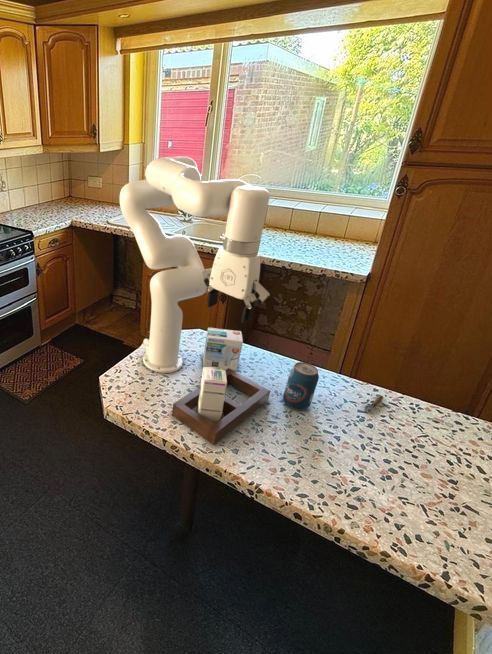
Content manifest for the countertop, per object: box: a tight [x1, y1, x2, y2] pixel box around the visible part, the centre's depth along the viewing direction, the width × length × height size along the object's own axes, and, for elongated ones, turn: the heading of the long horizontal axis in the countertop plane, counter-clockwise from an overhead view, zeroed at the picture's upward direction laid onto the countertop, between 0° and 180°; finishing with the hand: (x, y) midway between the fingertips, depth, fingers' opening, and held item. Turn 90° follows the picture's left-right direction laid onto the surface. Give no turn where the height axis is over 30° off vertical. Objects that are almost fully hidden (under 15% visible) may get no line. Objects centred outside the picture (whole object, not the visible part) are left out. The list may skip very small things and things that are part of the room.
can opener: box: [364, 395, 384, 412], centre depth 110 cm, size 9×2×1 cm, turn 123°
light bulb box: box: [202, 327, 244, 372], centre depth 126 cm, size 11×7×11 cm, turn 76°
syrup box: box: [196, 366, 228, 425], centre depth 103 cm, size 6×6×14 cm
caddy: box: [171, 368, 271, 446], centre depth 108 cm, size 14×25×4 cm, turn 129°
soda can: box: [282, 361, 320, 411], centre depth 108 cm, size 7×7×12 cm
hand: (228, 313), depth 95 cm, fingers open, 9 cm apart
